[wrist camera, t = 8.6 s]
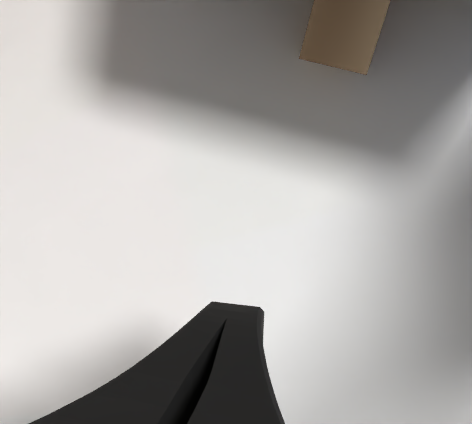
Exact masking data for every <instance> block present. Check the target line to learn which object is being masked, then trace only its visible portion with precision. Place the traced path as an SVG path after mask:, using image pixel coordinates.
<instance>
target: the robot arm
mask: <svg viewBox="0 0 472 424" xmlns="http://www.w3.org/2000/svg"><path fill="white" fill-rule="evenodd" d="M263 327H264V311H263V310H262V309H261V308H260V307H255V306H246V305H237V304H229V303H220V302H211V303H210V304H208V305H207V306H206V307H205V308H204V309H203V310H201V311H200V312H199V313H198V314H197V315H196V316H195V317H194V318H192V319H191V320H190V321H189V322H188V323H187V324H186V325H184V326H183V327H182V328H181V329H180V330H179V331H178V332H176V333H175V334H174V335H173V336H172V337H170V338H169V339H168V340H167V341H166V342H164V343H163V344H162V345H161V346H159V347H158V348H157V349H156V350H154V351H153V352H152V353H150V354H149V355H148V356H146V357H145V358H144V359H142V360H141V361H140V362H138V363H137V364H135V365H134V366H133V367H131V368H130V369H128V370H127V371H125V372H124V373H122V374H121V375H119V376H118V377H116V378H115V379H113V380H111V381H110V382H108V383H106V384H105V385H103V386H101V387H100V388H98V389H96V390H95V391H93V392H91V393H89V394H87V395H86V396H84V397H82V398H80V399H78V400H76V401H74V402H72V403H70V404H68V405H66V406H64V407H62V408H60V409H58V410H56V411H55V412H53V413H51V414H49V415H46V416H44V417H42V418H40V419H38V420H35V421H33V422H31V423H29V424H285V423H284V420H283V417H282V415H281V412H280V409H279V406H278V403H277V400H276V397H275V394H274V391H273V387H272V384H271V380H270V377H269V373H268V369H267V364H266V359H265V354H264V349H263Z"/></svg>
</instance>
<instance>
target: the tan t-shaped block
mask: <svg viewBox="0 0 472 424" xmlns="http://www.w3.org/2000/svg"><path fill="white" fill-rule="evenodd" d="M390 1H391V0H314V3H313V6H312V10H311V14H310V18H309V22H308V25H307V29H306V33H305V37H304V41H303V45H302V48H301V52H300V56H299V59H303V60H307V61H311V62H315V63H319V64H323V65H327V66H331V67H336V68H340V69H344V70H348V71H352V72H356V73H360V74H364V75H367V72H368V69H369V66H370V63H371V60H372V57H373V53H374V50H375V47H376V44H377V41H378V38H379V35H380V32H381V29H382V26H383V22H384V19H385V16H386V13H387V10H388V7H389V4H390Z"/></svg>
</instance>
